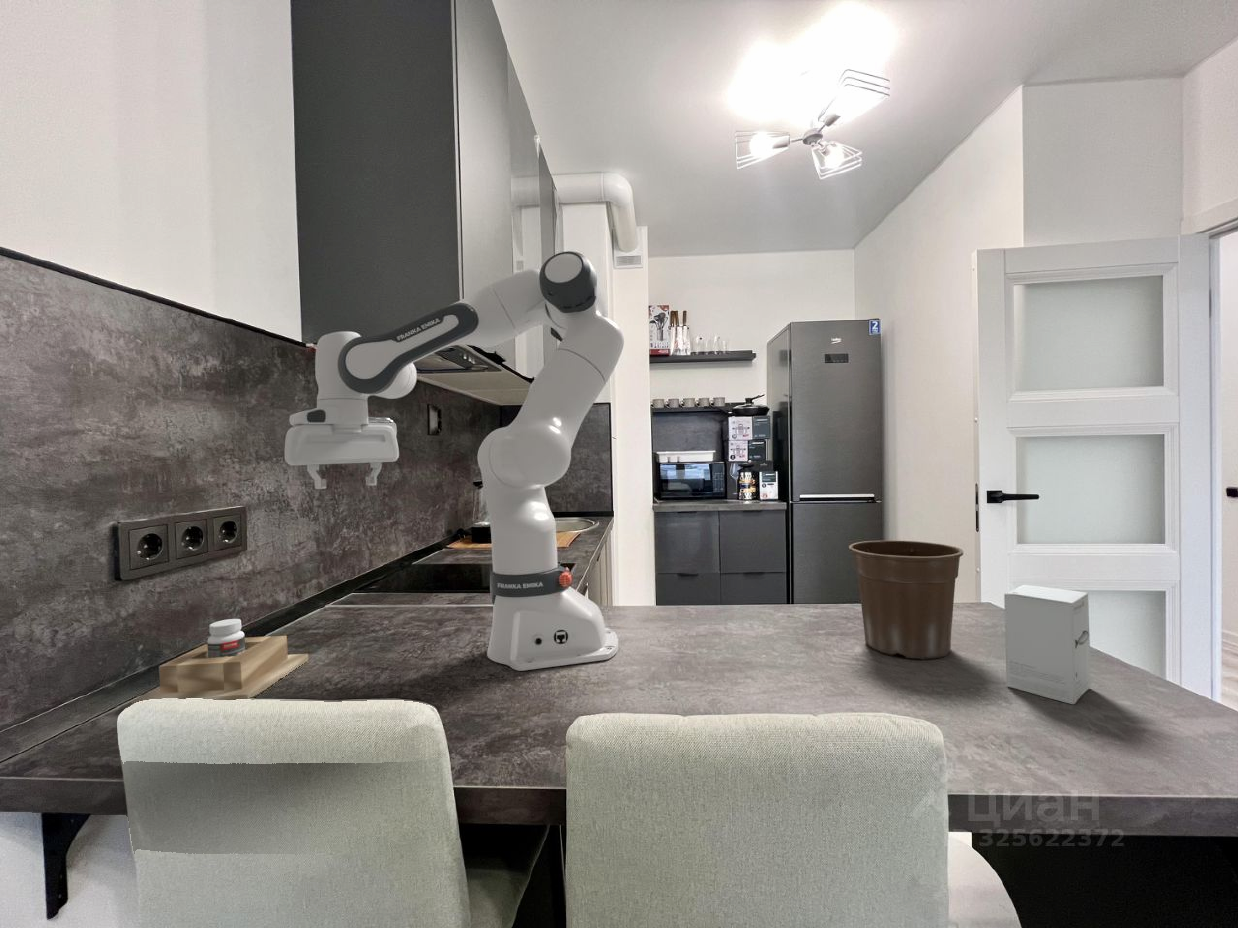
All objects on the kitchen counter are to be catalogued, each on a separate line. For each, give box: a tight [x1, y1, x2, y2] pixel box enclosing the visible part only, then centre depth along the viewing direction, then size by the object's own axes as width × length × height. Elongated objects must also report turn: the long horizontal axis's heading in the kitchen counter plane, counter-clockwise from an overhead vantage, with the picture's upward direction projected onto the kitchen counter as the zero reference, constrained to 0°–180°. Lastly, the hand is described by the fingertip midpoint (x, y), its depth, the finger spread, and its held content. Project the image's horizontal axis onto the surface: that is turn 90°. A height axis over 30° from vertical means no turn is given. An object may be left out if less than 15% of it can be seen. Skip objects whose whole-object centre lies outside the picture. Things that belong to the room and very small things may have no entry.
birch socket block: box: [131, 635, 309, 705], centre depth 84 cm, size 16×16×5 cm
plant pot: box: [848, 540, 964, 660], centre depth 87 cm, size 16×16×16 cm
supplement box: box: [1003, 584, 1092, 705], centre depth 71 cm, size 7×7×13 cm
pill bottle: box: [206, 618, 246, 658], centre depth 84 cm, size 5×5×8 cm
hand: (346, 487), depth 105 cm, fingers open, 8 cm apart
